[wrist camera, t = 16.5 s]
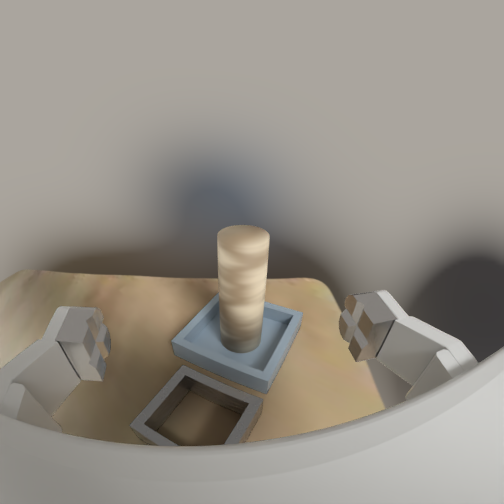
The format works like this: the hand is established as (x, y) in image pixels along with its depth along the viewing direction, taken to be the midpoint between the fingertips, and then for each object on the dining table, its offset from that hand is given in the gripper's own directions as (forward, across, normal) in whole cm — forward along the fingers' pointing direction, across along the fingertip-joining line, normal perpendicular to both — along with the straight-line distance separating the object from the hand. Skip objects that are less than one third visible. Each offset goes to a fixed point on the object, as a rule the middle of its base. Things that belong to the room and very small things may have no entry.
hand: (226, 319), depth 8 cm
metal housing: (+5, +2, +20) cm, 21 cm away
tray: (+17, -3, +20) cm, 27 cm away
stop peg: (+17, -3, +19) cm, 26 cm away
